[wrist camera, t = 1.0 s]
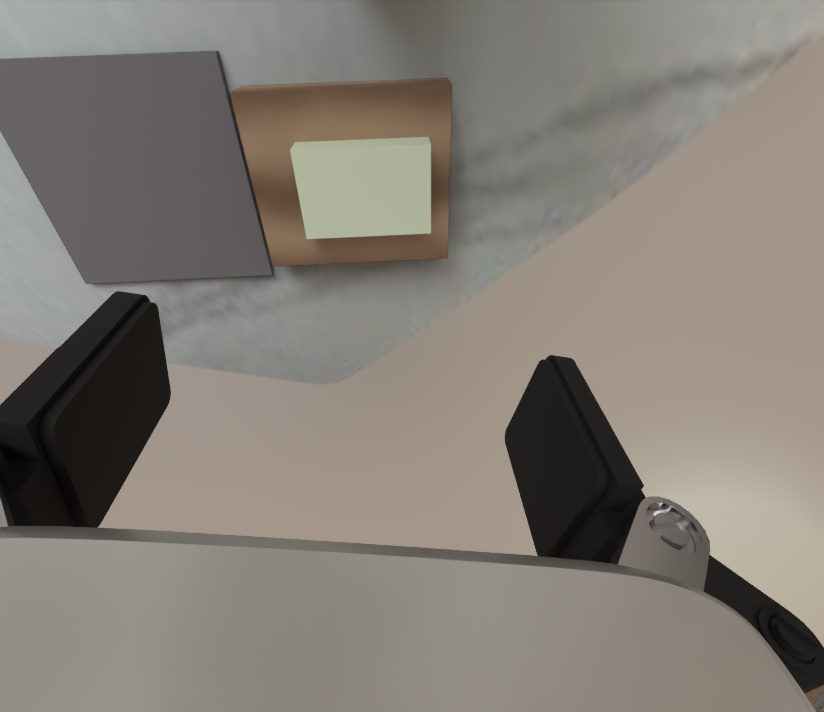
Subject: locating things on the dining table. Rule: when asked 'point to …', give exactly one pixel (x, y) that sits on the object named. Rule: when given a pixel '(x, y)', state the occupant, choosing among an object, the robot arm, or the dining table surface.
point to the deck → (332, 121)
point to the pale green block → (364, 187)
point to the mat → (136, 164)
